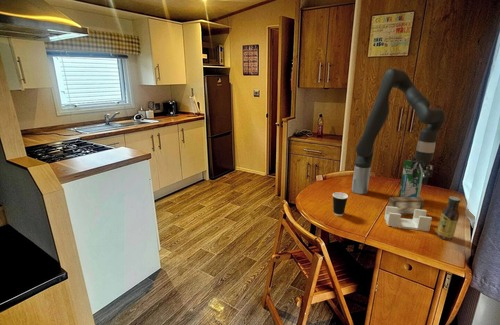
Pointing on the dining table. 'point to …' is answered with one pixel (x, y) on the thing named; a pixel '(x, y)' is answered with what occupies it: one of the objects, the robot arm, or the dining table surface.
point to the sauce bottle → (449, 219)
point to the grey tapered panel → (406, 204)
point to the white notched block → (416, 223)
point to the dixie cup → (339, 203)
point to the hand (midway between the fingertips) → (418, 180)
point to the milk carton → (410, 182)
